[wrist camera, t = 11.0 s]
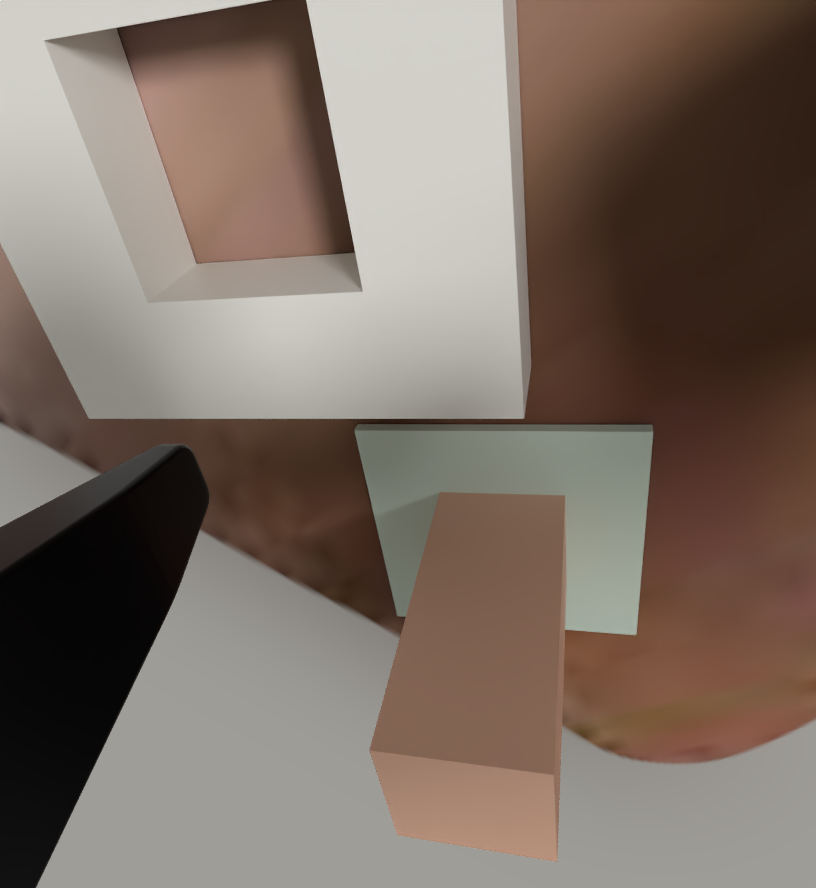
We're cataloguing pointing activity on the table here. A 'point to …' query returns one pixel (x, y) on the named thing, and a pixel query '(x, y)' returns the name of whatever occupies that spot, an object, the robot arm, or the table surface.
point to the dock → (279, 279)
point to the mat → (521, 472)
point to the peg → (480, 679)
